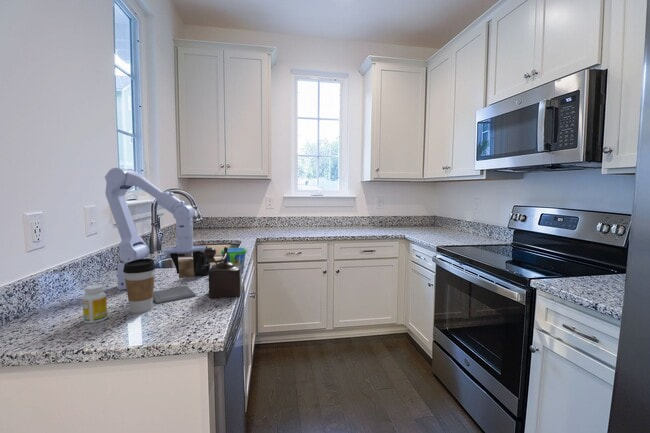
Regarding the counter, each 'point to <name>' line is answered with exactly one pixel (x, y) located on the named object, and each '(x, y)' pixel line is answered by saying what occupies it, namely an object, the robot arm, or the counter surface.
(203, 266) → the supplement bottle
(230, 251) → the snack cup
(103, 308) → the supplement bottle
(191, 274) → the block
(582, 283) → the counter surface
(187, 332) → the counter surface
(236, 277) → the manual coffee grinder
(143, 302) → the coffee cup
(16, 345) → the counter surface
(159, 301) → the coaster
